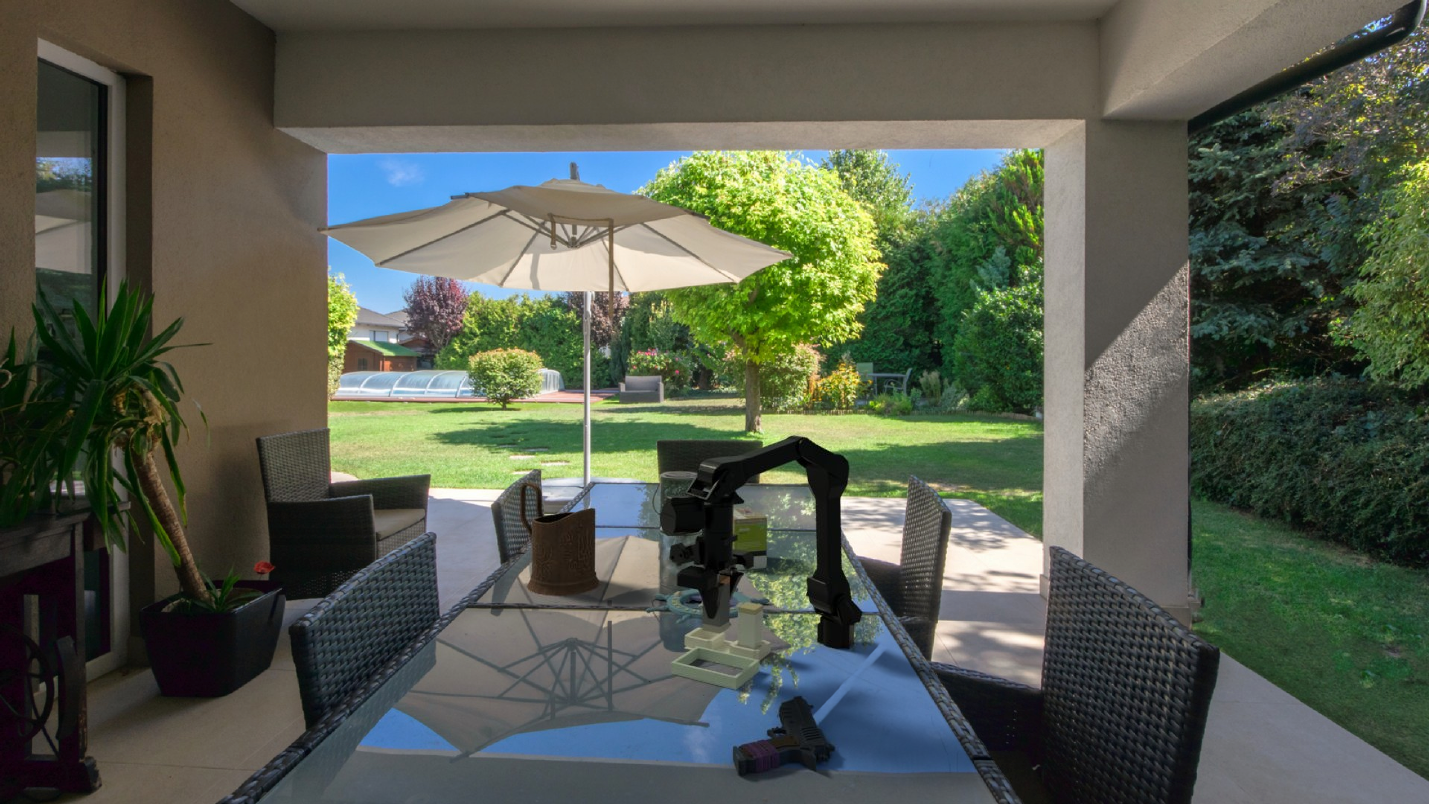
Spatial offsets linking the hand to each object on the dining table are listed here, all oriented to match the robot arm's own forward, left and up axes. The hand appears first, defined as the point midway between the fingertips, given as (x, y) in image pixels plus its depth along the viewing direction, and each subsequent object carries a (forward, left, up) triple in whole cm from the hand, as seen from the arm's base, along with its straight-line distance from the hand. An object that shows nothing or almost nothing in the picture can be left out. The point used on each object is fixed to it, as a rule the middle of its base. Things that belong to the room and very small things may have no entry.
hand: (716, 615), depth 137 cm
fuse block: (+4, -11, -12) cm, 16 cm away
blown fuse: (0, 0, -2) cm, 3 cm away
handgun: (-19, +15, -12) cm, 27 cm away
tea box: (+32, -73, -12) cm, 80 cm away
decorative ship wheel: (+20, -33, -12) cm, 40 cm away
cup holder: (+64, -30, -12) cm, 72 cm away
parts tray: (0, 0, -12) cm, 12 cm away
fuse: (-1, -11, -10) cm, 15 cm away
